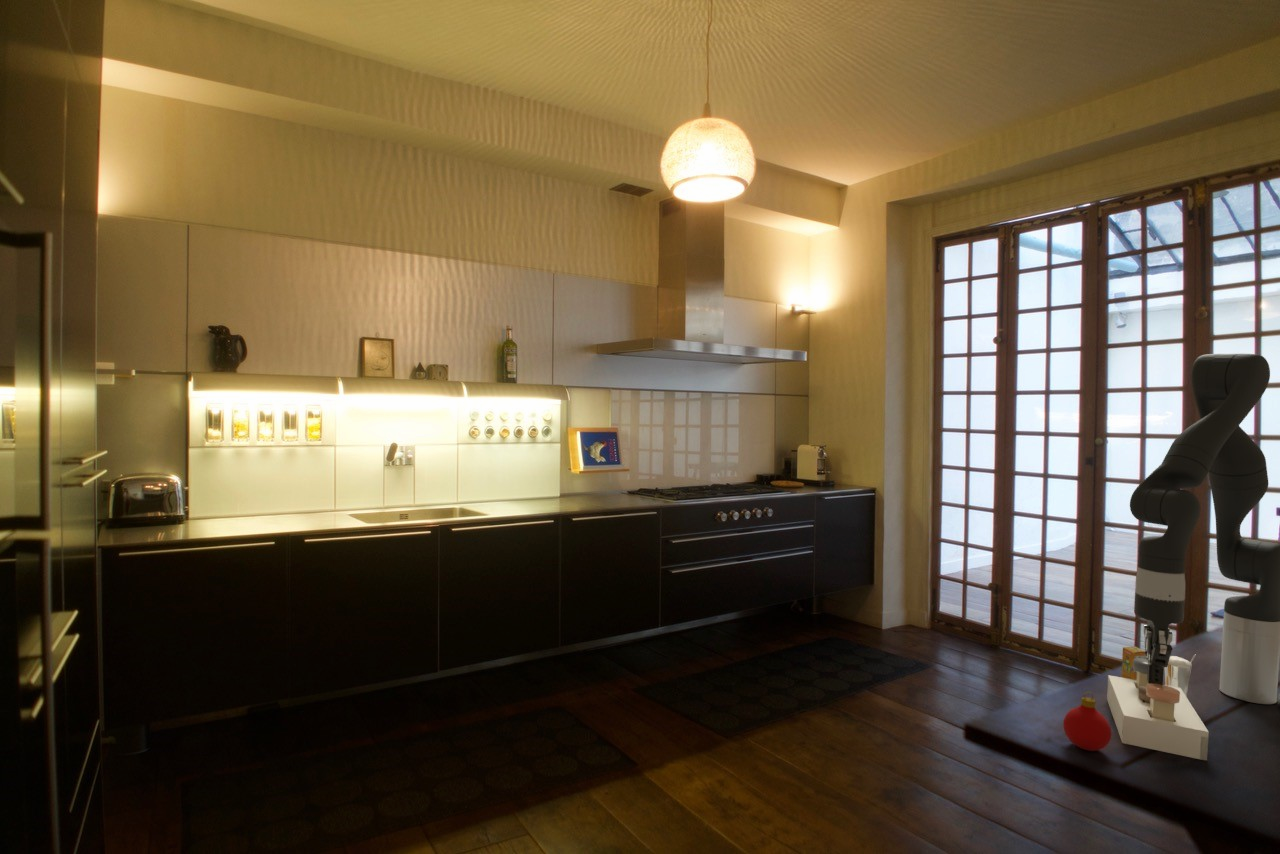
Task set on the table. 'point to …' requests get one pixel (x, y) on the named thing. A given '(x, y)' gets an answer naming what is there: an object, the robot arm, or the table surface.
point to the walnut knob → (1143, 694)
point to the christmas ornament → (1087, 726)
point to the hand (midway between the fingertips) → (1154, 684)
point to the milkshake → (1178, 673)
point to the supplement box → (1131, 661)
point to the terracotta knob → (1162, 701)
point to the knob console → (1156, 722)
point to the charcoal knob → (1141, 671)
